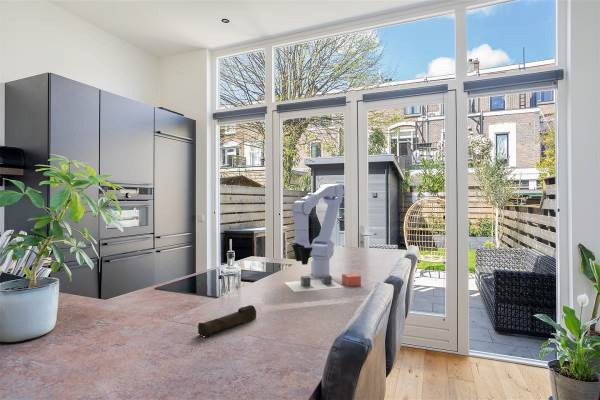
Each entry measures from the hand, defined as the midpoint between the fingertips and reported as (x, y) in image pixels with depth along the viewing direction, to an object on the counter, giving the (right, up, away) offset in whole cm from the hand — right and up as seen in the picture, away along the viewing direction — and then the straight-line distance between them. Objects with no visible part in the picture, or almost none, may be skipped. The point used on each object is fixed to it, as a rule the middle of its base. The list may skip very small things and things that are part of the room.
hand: (301, 262), depth 142 cm
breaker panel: (+5, -9, -5) cm, 11 cm away
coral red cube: (+20, -9, -4) cm, 22 cm away
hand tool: (-21, -11, -44) cm, 50 cm away
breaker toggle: (+1, -8, -5) cm, 10 cm away
